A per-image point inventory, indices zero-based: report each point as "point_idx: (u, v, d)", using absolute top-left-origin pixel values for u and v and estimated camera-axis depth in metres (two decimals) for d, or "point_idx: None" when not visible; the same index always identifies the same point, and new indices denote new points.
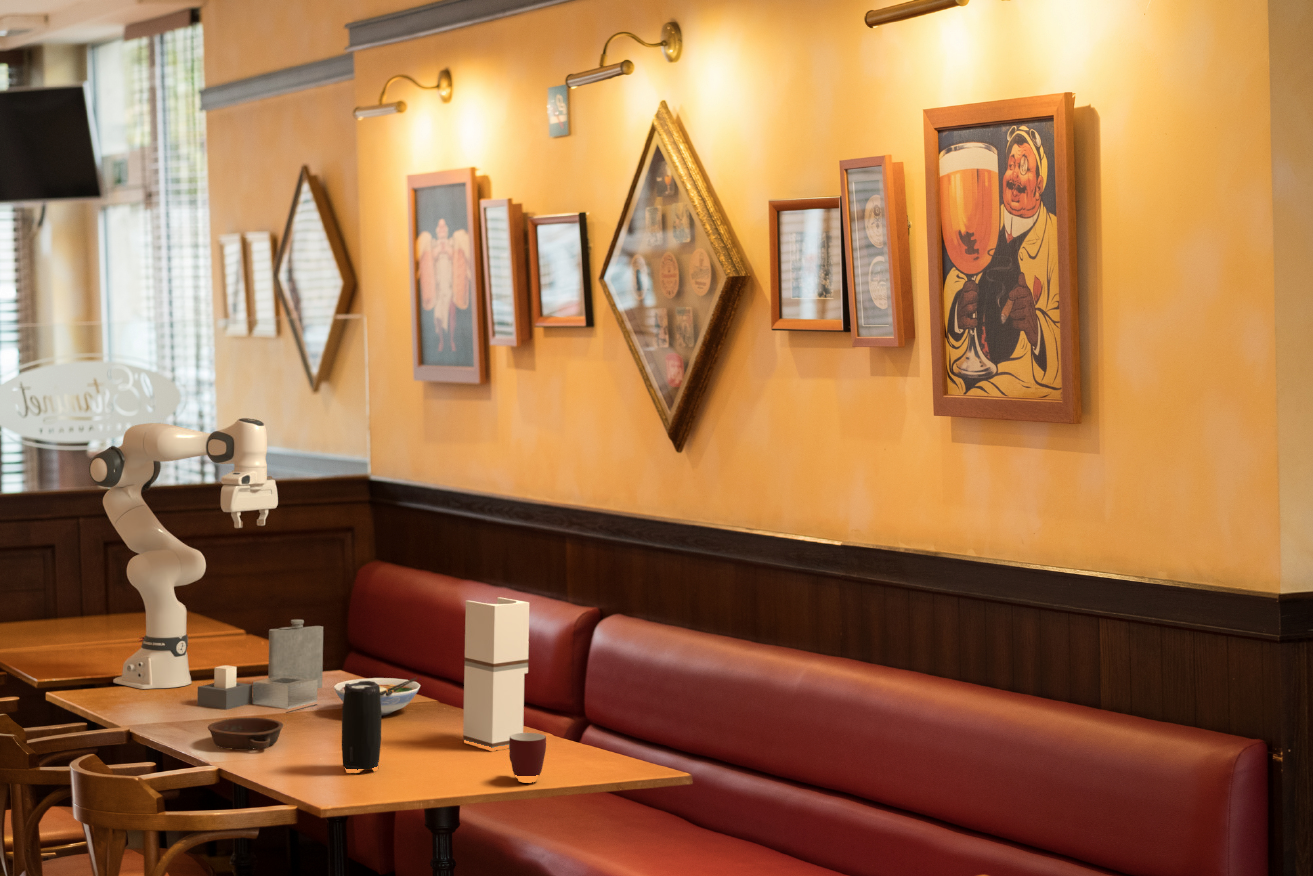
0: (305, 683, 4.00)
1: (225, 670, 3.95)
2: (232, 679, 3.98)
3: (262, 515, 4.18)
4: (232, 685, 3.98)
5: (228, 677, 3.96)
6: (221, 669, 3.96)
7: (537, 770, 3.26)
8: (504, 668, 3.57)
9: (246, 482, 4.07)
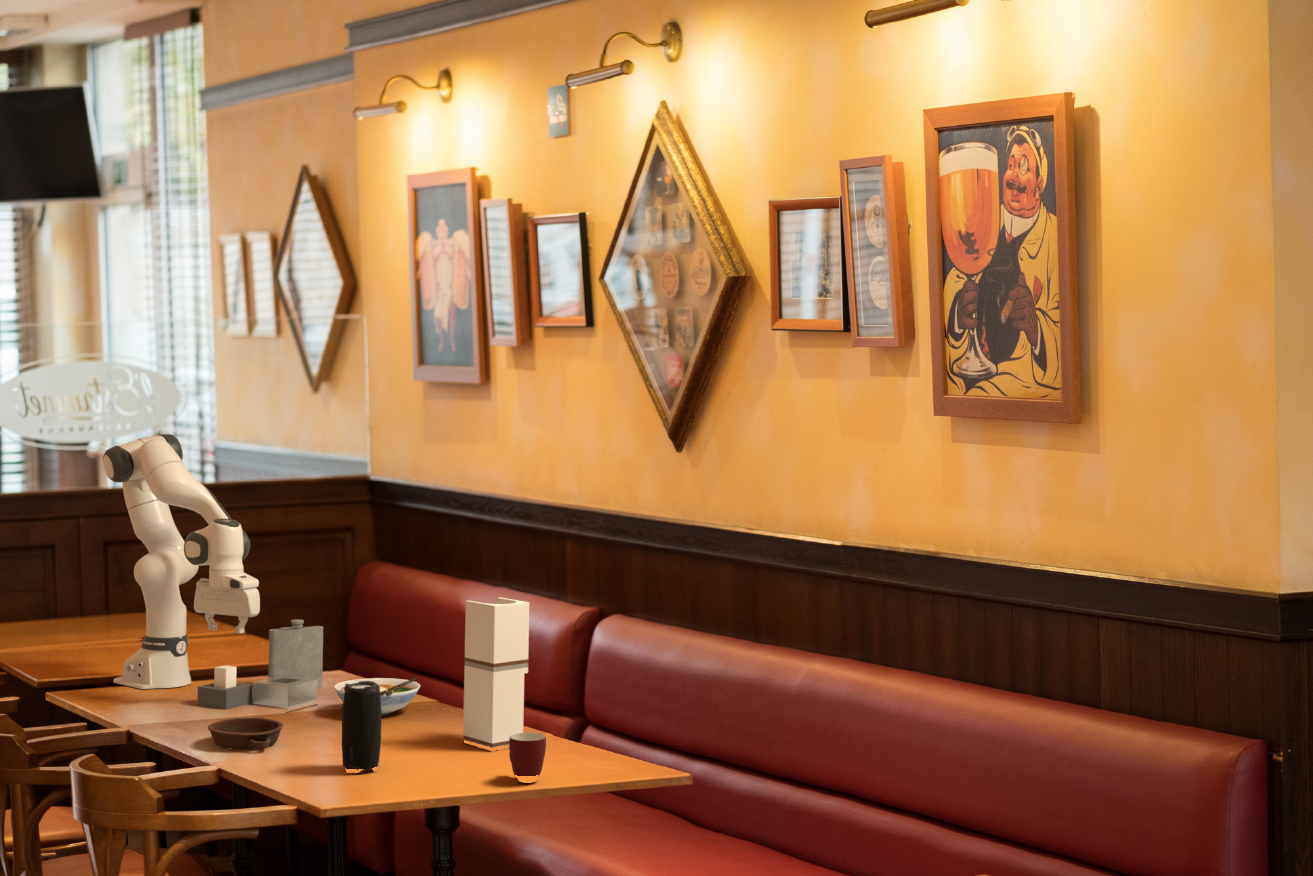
0: (305, 683, 4.00)
1: (225, 670, 3.95)
2: (232, 679, 3.98)
3: (211, 619, 4.00)
4: (232, 685, 3.98)
5: (228, 677, 3.96)
6: (221, 669, 3.96)
7: (537, 770, 3.26)
8: (504, 668, 3.57)
9: None
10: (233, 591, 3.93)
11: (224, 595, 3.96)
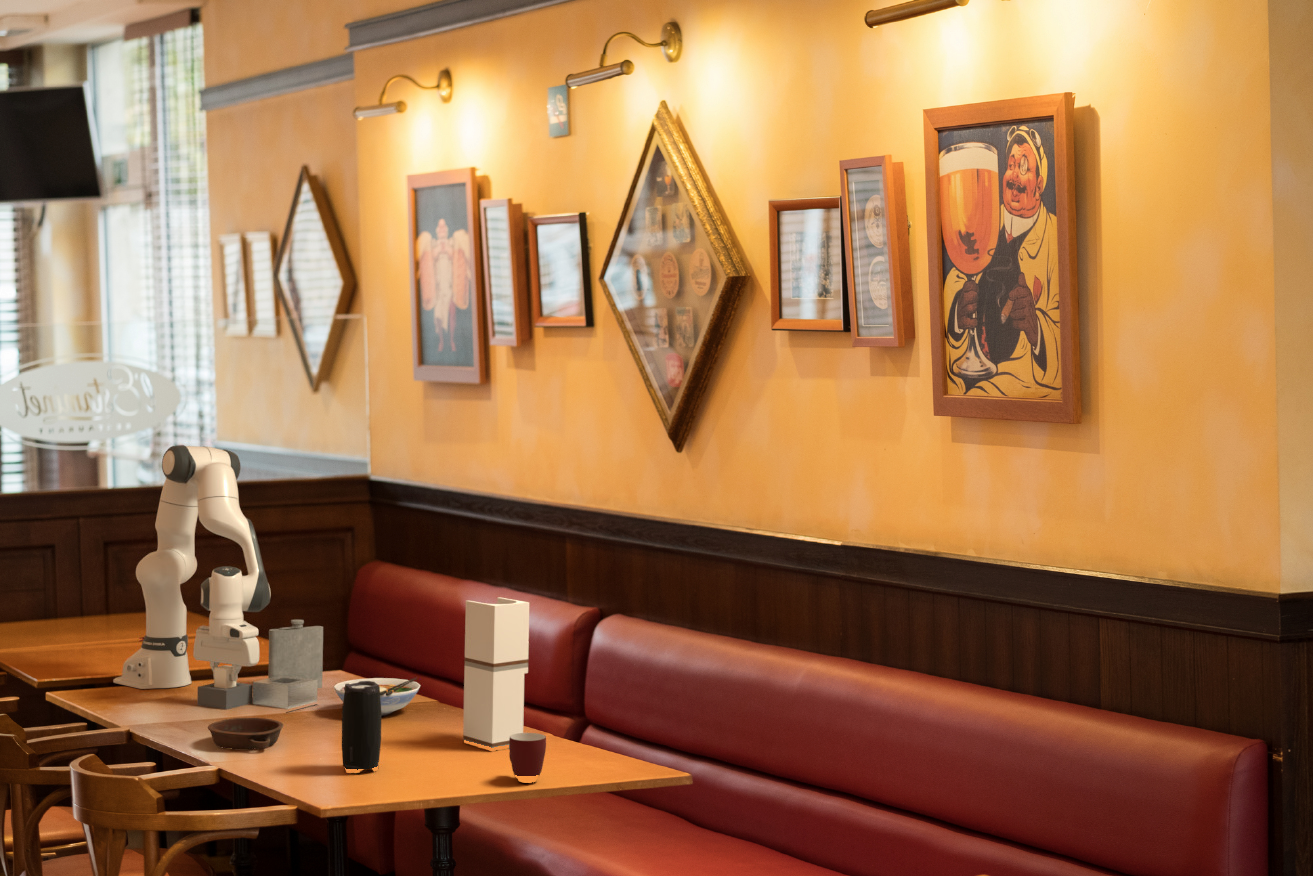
0: (305, 683, 4.00)
1: (225, 670, 3.95)
2: None
3: None
4: (232, 685, 3.98)
5: (228, 677, 3.96)
6: (221, 669, 3.96)
7: (537, 770, 3.26)
8: (504, 668, 3.57)
9: None
10: (233, 640, 3.93)
11: (224, 643, 3.96)
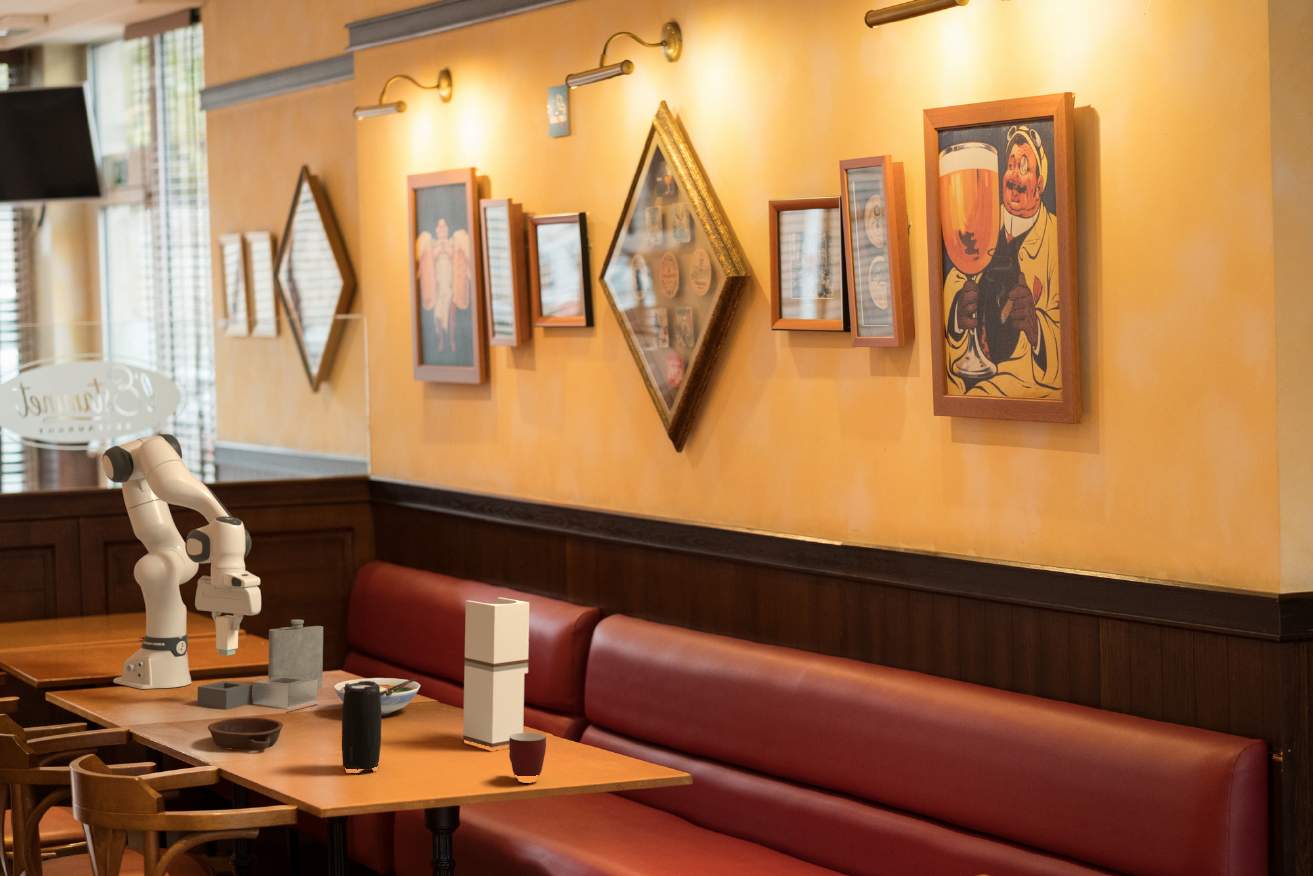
0: (305, 683, 4.00)
1: (227, 619, 3.95)
2: None
3: None
4: (234, 635, 3.97)
5: (230, 627, 3.96)
6: (223, 618, 3.96)
7: (537, 770, 3.26)
8: (504, 668, 3.57)
9: None
10: (234, 589, 3.93)
11: (225, 593, 3.96)
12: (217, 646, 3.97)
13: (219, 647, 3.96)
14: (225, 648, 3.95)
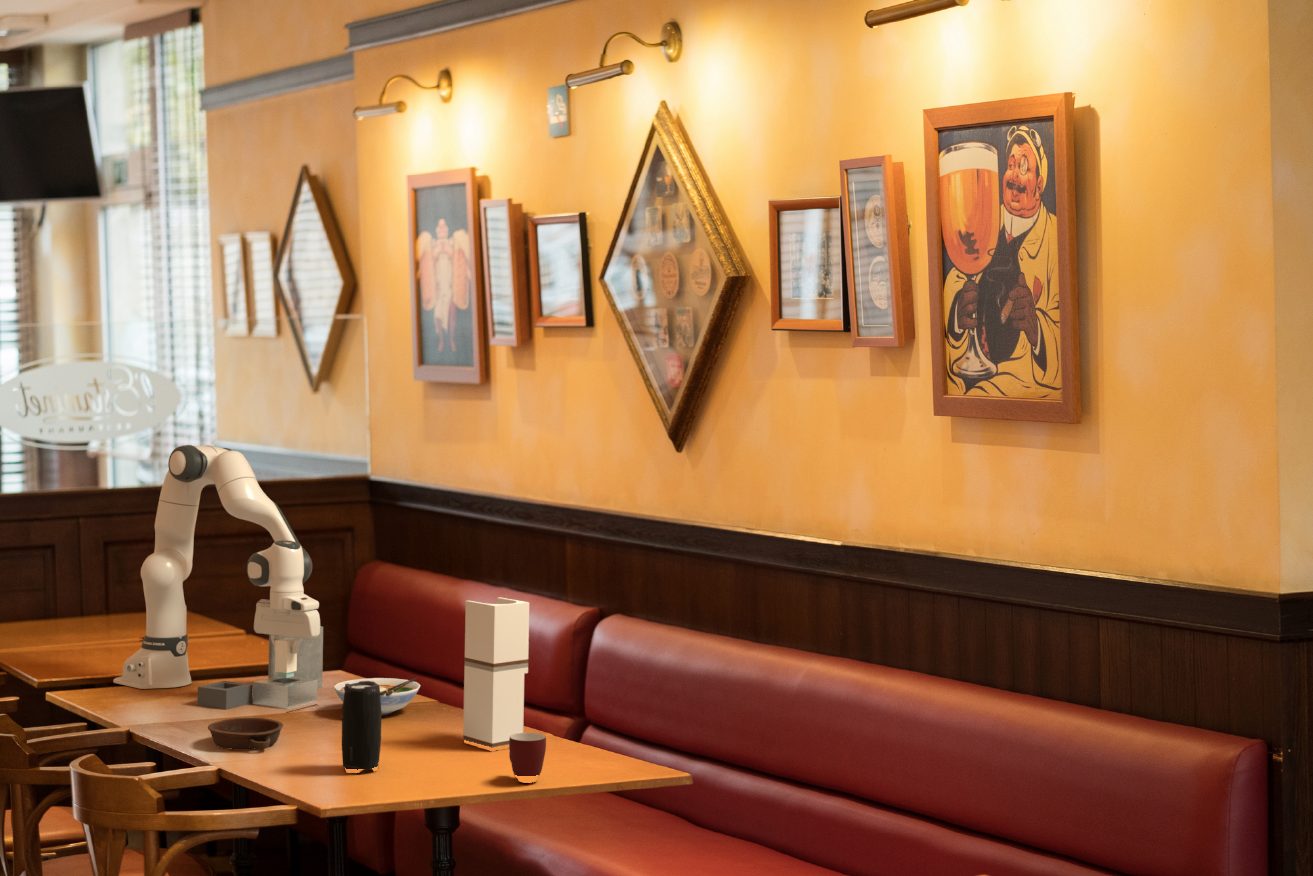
0: (305, 683, 4.00)
1: (286, 643, 3.99)
2: None
3: None
4: (293, 658, 4.01)
5: (289, 650, 4.00)
6: (282, 642, 3.99)
7: (537, 770, 3.26)
8: (504, 668, 3.57)
9: None
10: (294, 613, 3.97)
11: (285, 616, 3.99)
12: (276, 669, 4.00)
13: (278, 670, 4.00)
14: (284, 671, 3.99)
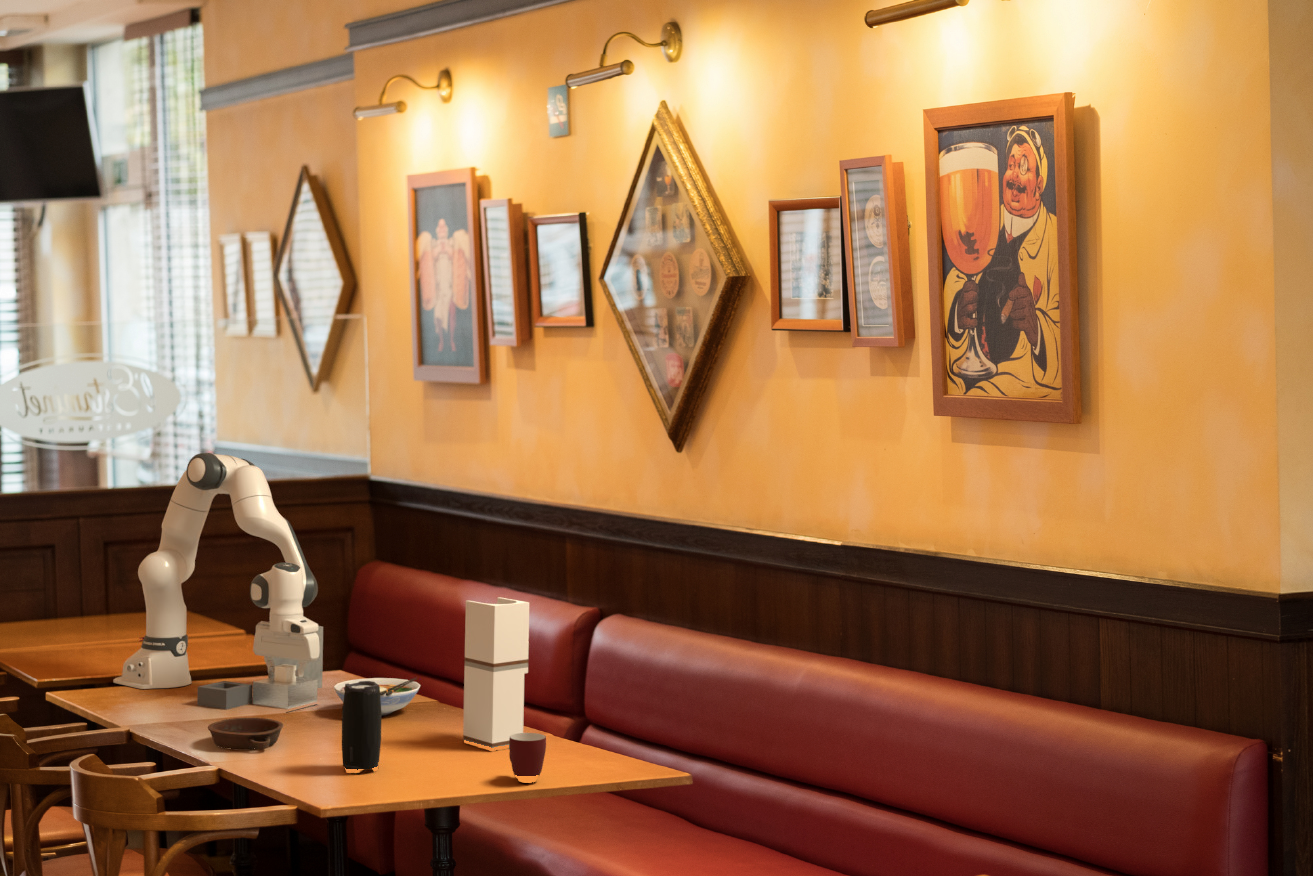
0: (305, 683, 4.00)
1: (285, 669, 3.99)
2: (292, 678, 4.01)
3: (270, 662, 4.04)
4: None
5: (288, 676, 4.00)
6: (281, 668, 4.00)
7: (537, 770, 3.26)
8: (504, 668, 3.57)
9: None
10: (293, 635, 3.97)
11: (284, 639, 4.00)
12: None
13: None
14: None
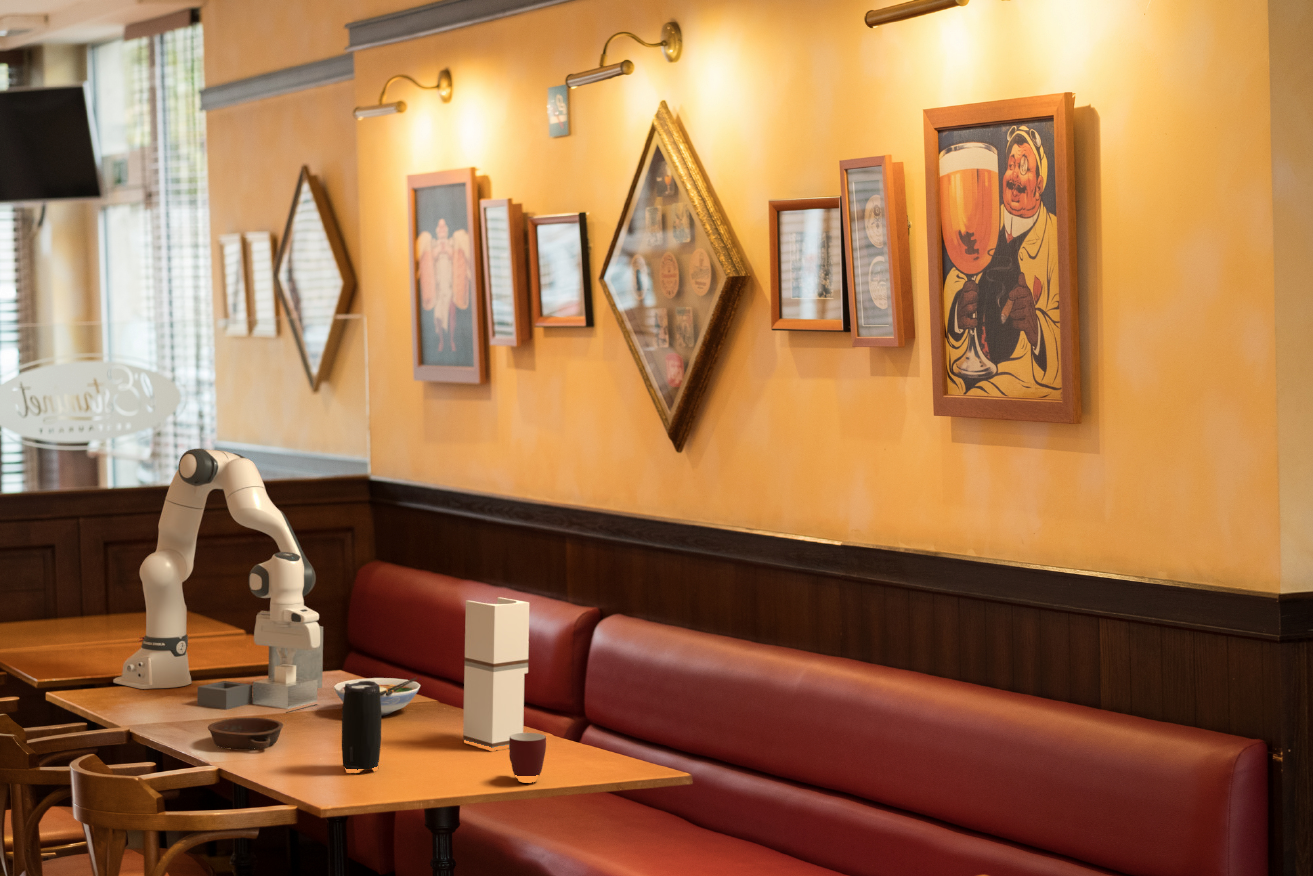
0: (305, 683, 4.00)
1: (285, 669, 3.99)
2: (292, 678, 4.01)
3: (282, 653, 4.02)
4: None
5: (288, 676, 4.00)
6: (281, 668, 4.00)
7: (537, 770, 3.26)
8: (504, 668, 3.57)
9: None
10: (294, 625, 3.97)
11: (285, 628, 4.00)
12: None
13: None
14: None
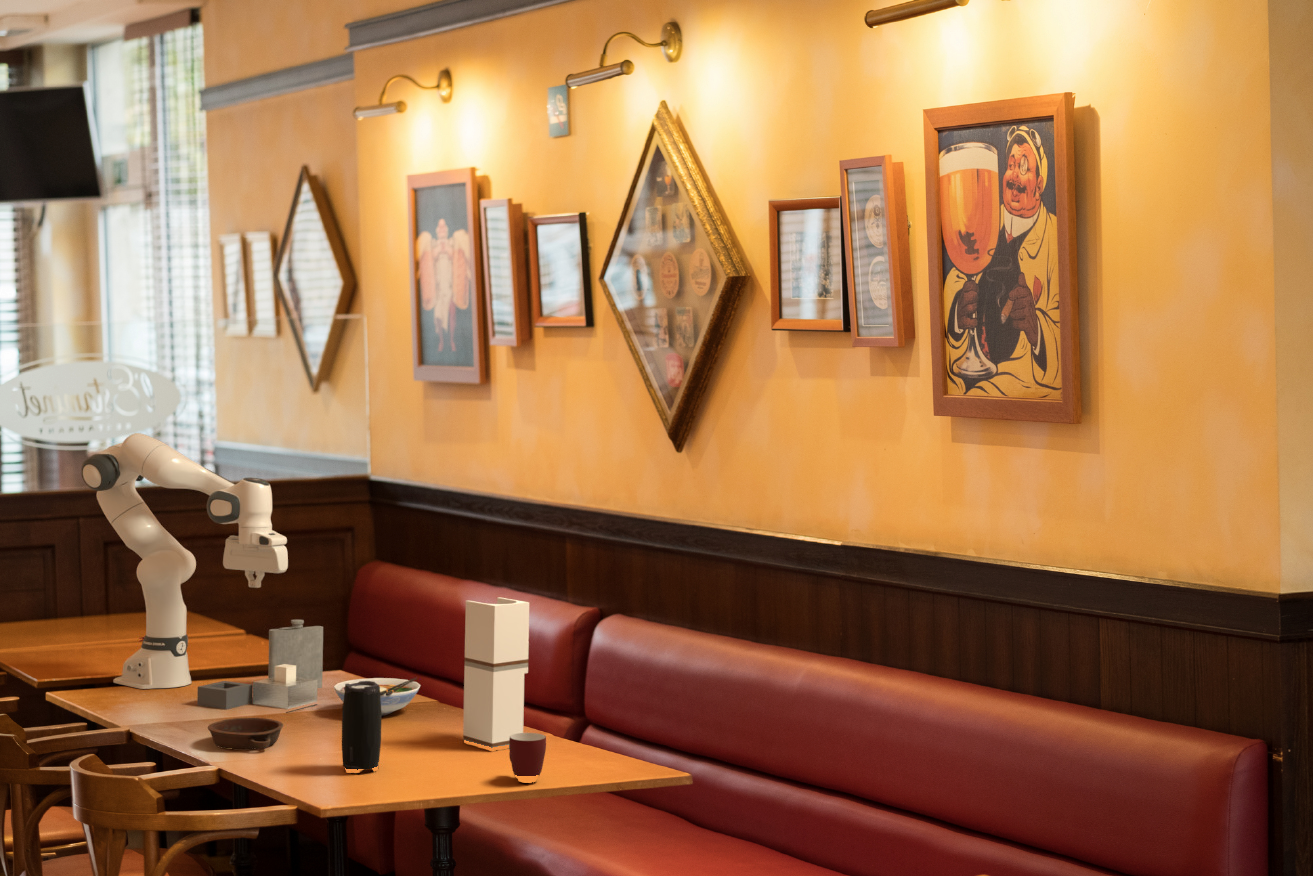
0: (305, 683, 4.00)
1: (285, 669, 3.99)
2: (292, 678, 4.01)
3: (250, 576, 4.09)
4: None
5: (288, 676, 4.00)
6: (281, 668, 4.00)
7: (537, 770, 3.26)
8: (504, 668, 3.57)
9: None
10: (262, 548, 4.04)
11: (253, 552, 4.07)
12: None
13: None
14: None
